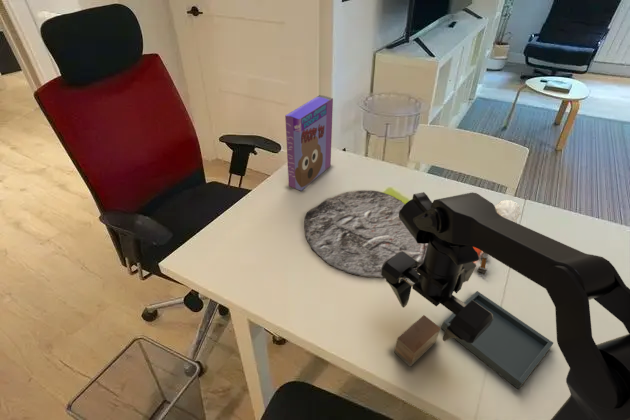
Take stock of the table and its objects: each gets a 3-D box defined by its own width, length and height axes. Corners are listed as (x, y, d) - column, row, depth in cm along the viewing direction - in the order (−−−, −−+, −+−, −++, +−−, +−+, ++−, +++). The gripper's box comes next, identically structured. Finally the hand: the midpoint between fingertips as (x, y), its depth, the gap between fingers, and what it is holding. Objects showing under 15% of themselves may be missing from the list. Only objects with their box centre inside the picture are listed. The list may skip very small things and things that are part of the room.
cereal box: (301, 191, 115) (299, 118, 100) (288, 186, 117) (285, 114, 102) (330, 166, 126) (332, 97, 111) (318, 162, 128) (319, 94, 113)
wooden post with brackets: (489, 247, 94) (493, 240, 90) (482, 276, 91) (487, 270, 87) (481, 245, 95) (485, 238, 91) (475, 273, 92) (478, 267, 88)
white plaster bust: (524, 199, 97) (525, 231, 89) (513, 222, 103) (513, 254, 95) (498, 194, 99) (496, 225, 91) (489, 217, 105) (486, 247, 97)
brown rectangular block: (435, 342, 75) (440, 328, 71) (410, 367, 71) (414, 352, 67) (419, 329, 77) (423, 314, 74) (393, 352, 73) (397, 337, 70)
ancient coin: (376, 303, 82) (376, 302, 82) (280, 224, 102) (280, 223, 102) (459, 235, 99) (459, 234, 99) (362, 179, 119) (363, 178, 119)
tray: (549, 348, 74) (554, 342, 72) (518, 389, 67) (522, 383, 66) (474, 296, 84) (477, 290, 82) (441, 327, 77) (443, 322, 76)
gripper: (525, 273, 57) (494, 331, 66) (425, 213, 68) (411, 271, 78) (486, 312, 51) (458, 370, 61) (384, 240, 62) (374, 298, 72)
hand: (423, 321), depth 68 cm, fingers open, 9 cm apart
